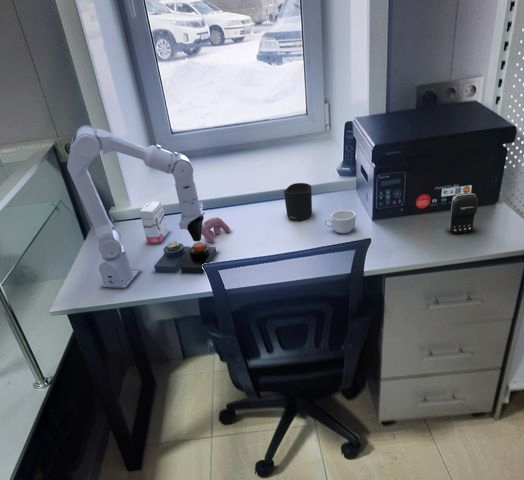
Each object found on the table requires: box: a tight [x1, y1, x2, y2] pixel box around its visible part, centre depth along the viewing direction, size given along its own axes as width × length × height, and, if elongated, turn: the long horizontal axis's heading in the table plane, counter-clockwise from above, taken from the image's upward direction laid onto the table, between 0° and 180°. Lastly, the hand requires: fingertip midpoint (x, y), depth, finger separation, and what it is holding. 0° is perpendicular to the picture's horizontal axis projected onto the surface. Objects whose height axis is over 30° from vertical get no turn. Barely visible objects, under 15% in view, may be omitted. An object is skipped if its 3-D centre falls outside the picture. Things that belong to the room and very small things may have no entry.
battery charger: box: [448, 192, 479, 234], centre depth 149 cm, size 7×4×11 cm, turn 90°
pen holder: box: [283, 182, 313, 222], centre depth 172 cm, size 9×9×10 cm
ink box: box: [139, 200, 169, 245], centre depth 172 cm, size 9×5×12 cm, turn 168°
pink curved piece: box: [201, 216, 231, 243], centre depth 170 cm, size 10×5×7 cm, turn 141°
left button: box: [166, 241, 179, 251], centre depth 159 cm, size 4×4×2 cm
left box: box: [153, 242, 191, 274], centre depth 159 cm, size 13×7×4 cm, turn 164°
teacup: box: [324, 209, 357, 234], centre depth 161 cm, size 10×8×5 cm
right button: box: [192, 241, 205, 252], centre depth 157 cm, size 4×4×2 cm
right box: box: [179, 243, 218, 275], centre depth 157 cm, size 13×7×4 cm, turn 164°
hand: (197, 240), depth 155 cm, fingers closed
